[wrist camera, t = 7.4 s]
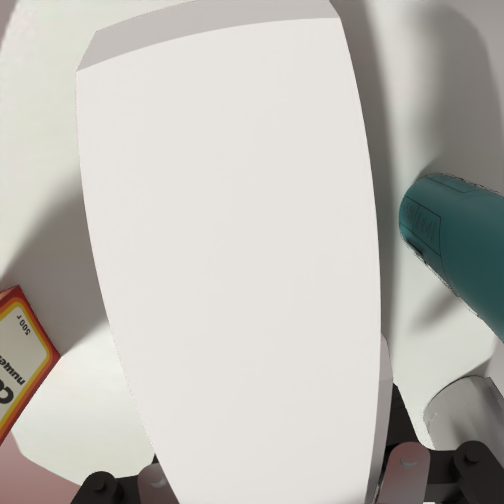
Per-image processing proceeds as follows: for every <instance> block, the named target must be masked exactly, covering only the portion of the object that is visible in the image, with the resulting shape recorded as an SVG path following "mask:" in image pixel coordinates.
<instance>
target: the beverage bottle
mask: <svg viewBox="0 0 504 504" xmlns="http://www.w3.org/2000/svg"><path fill="white" fill-rule="evenodd" d="M432 174H433V173H432ZM446 174H447V173H446ZM449 175H450V174H449ZM472 184H473V182H472V183H471V184H470V183H466V182H464V179H462V180H461V178H460V180H459V179H458V178H455V177H454V178H453V177H449V176H448V175H447V176H446V175H442V173H441V174H433V175H430V174H429V176H427V175H426V176H425V177H423V178H421V179H419V180H417V181H416V182H415V183H414V184H413V185H412V186H411V187H410V188H409V189H408V190H407V192H406V193H405V195H404V197H403V199H402V202H401V205H400V210H399V228H400V230H401V232H400V233H402V236H403V239H404V240H405V241H406V243H407V244H408V245H409V247H410V248H411V249H413V250H414V251H415V252H416V254H417V255H419V256H420V257H421V258H422V259H423V260H424V262H425V264H426V265H429V266H430V267H431V269H433V270H434V271H435V272H436V274H438V275H439V276H440V277H441V279H443V280H444V281H445V282H446V284H448V285H449V287H451V288H450V289H453V290H454V291H455V292H456V293H457V294H458V295H459V297H461V298H462V299H463V300H464V301H465V303H466V304H467V305H468V306H469V307H470V308H471V309H472V310H473V311H475V312H476V313H477V314H478V315H477V317H479V316H480V317H481V319H482V320H483V321H484V322H485V323H486V324H487V325H488V326H489V327H490V328H491V330H492V331H493V332H494V333H495V334H496V335H497V336H498V337H499V339H500V340H501V341H502V342H503V343H504V197H502V196H500V195H498V194H496V193H493V192H490V190H492V189H490V190H489V191H488V190H487V189H486V188H485V189H486V190H485V189H482V188H480V187H477V186H476V184H474V185H475V186H474V185H472ZM477 185H478V184H477ZM480 186H481V185H480ZM482 187H484V186H482ZM495 192H497V191H495ZM402 236H401V237H402ZM407 244H405V245H407ZM409 247H408V248H409ZM412 253H413V252H412ZM419 259H420V258H419ZM423 260H422V261H423ZM436 276H437V275H436ZM438 278H439V277H438ZM445 282H444V283H445ZM446 284H444V285H445V286H446ZM448 285H447V286H448ZM453 290H452V291H453ZM450 291H451V290H450ZM452 293H453V292H452ZM456 293H455V296H456ZM456 297H457V296H456ZM459 297H458V298H459ZM461 303H462V302H461ZM467 309H468V308H467ZM471 312H472V311H471ZM475 315H476V314H475ZM480 317H479V318H480Z"/></svg>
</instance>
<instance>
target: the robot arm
mask: <svg viewBox="0 0 504 504" xmlns="http://www.w3.org/2000/svg"><path fill="white" fill-rule="evenodd" d="M423 418H424V422H425V425H426V427H427V430H428V433H429V435H430V437H431V440H432V442H433V445H434V448H435V450H431V449H428V448H426V447H425V446H424V445H422V444H421V443H420V442H419V440H418V438H417V436H416V433H415V431H414V428H413V425H412V423H411V420H410V417H409V415H408V412H407V410H406V408H405V404H404V402H403V399H402V397H401V394H400V392H399V389H398V387H397V386H396V385H395V384H394V383H393V387H392V397H391V407H390V416H389V424H388V431H387V438H386V445H385V451H384V457H383V463H382V469H381V473H380V477H379V480H378V486H379V488H378V491H377V495H376V498H375V502H374V504H423V502H435V503H436V504H504V398H503V396H502V395H501V393H500V392H499V390H498V388H497V387H496V385H495V384H494V382H493V381H492V379H491V378H490V377H488V378H481V377H479V376H470V377H466V378H463V379H460V380H458V381H456V382H454V383H452V384H451V385H449V386H448V387H446V388H445V389H443V390H442V391H441V392H440V393H439V394H438V395H436V396H435V397H434V398H433V400H432V401H431V402H430V403H429V405H428V406H427V408H426V410H425V412H424V417H423ZM71 504H180V503H179V501H178V499H177V497H176V495H175V494H174V492H173V490H172V488H171V486H170V484H169V482H168V480H167V478H166V475H165V473H164V471H163V469H162V467H161V465H160V463H159V461H158V458H157V456H156V454H155V455H154V458H153V461H152V463H151V464H150V465H148V466H146V467H145V468H143V469H142V470H141V472H140V473H139V474H138V475H135V476H130V477H123V478H116V479H115V478H114V476H113V475H111V474H110V473H108V472H105V471H98V472H95V473H92V474H91V475H89V476H88V477H87V478H86V480H85V481H84V483H83V484H82V486H81V488H80V489H79V491H78V492H77V494H76V496H75V497H74V499H73V500H72V502H71Z"/></svg>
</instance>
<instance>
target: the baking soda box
mask: <svg viewBox="0 0 504 504" xmlns="http://www.w3.org/2000/svg"><path fill="white" fill-rule="evenodd" d="M60 358H61V356H60V355H59V353H58V352H57V350H56V349H55V347H54V346H53V344H52V342H51V341H50V339H49V338H48V336H47V334H46V333H45V331H44V329H43V328H42V326H41V324H40V323H39V321H38V319H37V317H36V316H35V314H34V312H33V310H32V309H31V307H30V305H29V303H28V301H27V299H26V298H25V296H24V294H23V292H22V290H21V288H20V286H19V285H17V286H14V287H12V288H9V289H7V290H4V291H2V292H0V446H1V444H2V443H3V441H4V439H5V438H6V436H7V435H8V433H9V431H10V430H11V428H12V427H13V425H14V424H15V422H16V421H17V419H18V418H19V416H20V415H21V413H22V412H23V410H24V409H25V407H26V406H27V404H28V403H29V401H30V400H31V398H32V397H33V395H34V394H35V393H36V391H37V390H38V388H39V387H40V385H41V384H42V383H43V381H44V380H45V378H46V377H47V376H48V374H49V373H50V371H51V370H52V369H53V367H54V366H55V365H56V363H57V362H58V361H59V359H60Z"/></svg>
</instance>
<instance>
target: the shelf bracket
mask: <svg viewBox="0 0 504 504" xmlns="http://www.w3.org/2000/svg"><path fill="white" fill-rule="evenodd" d="M76 109H77V132H78V147H79V159H80V170H81V179H82V188H83V196H84V203H85V210H86V217H87V223H88V229H89V235H90V241H91V246H92V252H93V257H94V262H95V267H96V271H97V276H98V281H99V285H100V289H101V293H102V298H103V302H104V306H105V310H106V313H107V317H108V321H109V325H110V328H111V332H112V335H113V339H114V342H115V346H116V349H117V352H118V355H119V359H120V362H121V365H122V368H123V371H124V374H125V377H126V380H127V383H128V386H129V389H130V391H131V394H132V397H133V400H134V402H135V405H136V408H137V410H138V413H139V416H140V418H141V421H142V423H143V426H144V428H145V431H146V433H147V435H148V438H149V440H150V442H151V445H152V447H153V449H154V452H155V454H156V456H157V458H158V461H159V463H160V465H161V467H162V469H163V471H164V473H165V475H166V478H167V480H168V482H169V484H170V486H171V488H172V490H173V492H174V494H175V495H176V497H177V499H178V501H179V503H180V504H371V503H372V500H373V497H374V494H375V490H376V487H377V484H378V480H379V477H380V473H381V469H382V463H383V457H384V451H385V445H386V438H387V431H388V424H389V416H390V407H391V397H392V387H393V374H392V368H391V362H390V357H389V351H388V346H387V341H386V339H385V338H384V336H383V335H382V333H381V298H380V266H379V248H378V233H377V220H376V209H375V199H374V190H373V181H372V173H371V165H370V158H369V151H368V144H367V138H366V132H365V126H364V120H363V114H362V109H361V104H360V98H359V93H358V89H357V84H356V79H355V75H354V70H353V66H352V62H351V57H350V53H349V49H348V45H347V41H346V37H345V34H344V30H343V26H342V23H341V19H340V17H339V15H338V14H337V12H336V11H335V9H334V7H333V6H332V4H331V3H330V1H329V0H195V1H191V2H187V3H182V4H178V5H175V6H171V7H167V8H163V9H160V10H156V11H153V12H150V13H146V14H143V15H140V16H137V17H134V18H131V19H128V20H125V21H122V22H120V23H117V24H114V25H112V26H109V27H106V28H104V29H101V30H99V31H96V33H95V35H94V36H93V38H92V40H91V42H90V44H89V46H88V48H87V50H86V52H85V54H84V56H83V58H82V60H81V63H80V65H79V67H78V69H77V71H76Z"/></svg>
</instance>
